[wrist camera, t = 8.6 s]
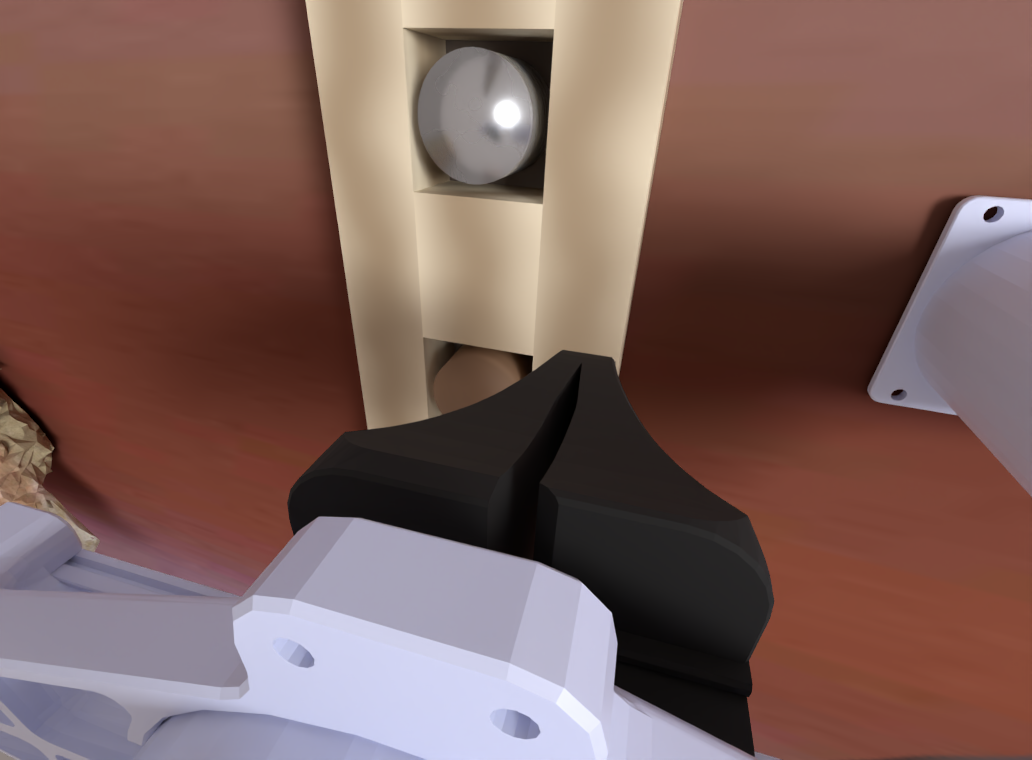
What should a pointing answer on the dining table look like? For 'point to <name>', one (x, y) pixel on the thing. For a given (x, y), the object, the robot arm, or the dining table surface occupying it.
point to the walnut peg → (477, 376)
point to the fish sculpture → (30, 467)
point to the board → (488, 185)
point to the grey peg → (483, 115)
